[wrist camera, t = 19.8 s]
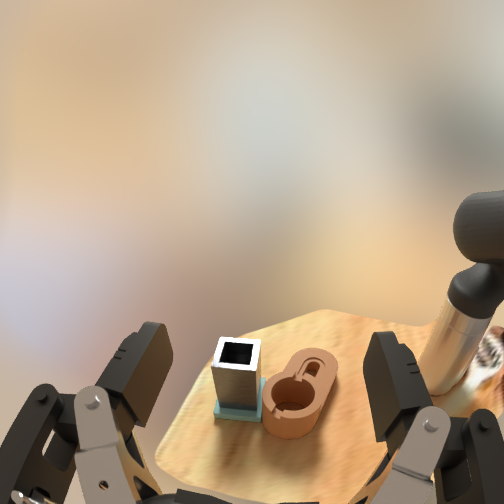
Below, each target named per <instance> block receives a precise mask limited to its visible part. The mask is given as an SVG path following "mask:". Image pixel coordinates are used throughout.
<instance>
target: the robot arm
mask: <svg viewBox="0 0 504 504" xmlns="http://www.w3.org/2000/svg"><path fill="white" fill-rule="evenodd" d="M453 233H454V239H455V242H456V245H457V246H458V248H459V250H460V251H461V253H462V254H463V255H464V256H465V257H466V258H467V259H469V260H470V261H473V262H476V264H475V265H474V266H472V267H471V268H469V269H466V270H464V271H461V272H459V273H457V274H456V275H455V276H454V277H453V279H452V281H451V283H450V286H449V289H448V292H447V295H446V298H445V301H444V303H443V306H442V309H441V311H440V314H439V317H438V319H437V321H436V324H435V326H434V328H433V331H432V333H431V335H430V337H429V340H428V342H427V344H426V346H425V348H424V350H423V352H422V354H421V356H420V359H419V361H418V362H417V361H416V359H415V357H414V354H413V352H412V351H411V350H410V349H409V348H408V347H407V346H406V345H405V344H399V343H398V341H397V338H396V336H395V334H394V332H393V331H387V332H374V333H373V335H372V337H371V341H370V344H369V347H368V350H367V352H366V355H365V358H364V362H363V374H364V379H365V383H366V388H367V393H368V398H369V403H370V408H371V413H372V418H373V424H374V430H375V436H376V442H383V441H386V443H387V448H388V449H387V451H386V452H385V454H384V456H383V457H382V459H381V461H380V462H379V464H378V465H377V467H376V468H375V470H374V471H373V473H372V474H371V476H370V477H369V479H368V480H367V482H366V483H365V484H364V486H363V487H362V488H361V489H360V491H359V492H358V493H357V494H356V495H355V496H354V497H353V498H352V499H351V500H350V502H349V503H348V504H424V503H425V501H426V499H427V497H428V495H429V493H430V491H431V489H432V486H433V481H432V480H431V479H430V478H431V475H432V473H433V471H434V478H435V487H436V497H437V504H504V441H503V437H502V434H501V431H500V428H499V425H498V422H497V419H496V417H495V415H494V414H493V413H492V412H491V411H489V410H487V409H478V410H476V411H475V412H474V413H473V414H472V415H471V416H470V417H469V418H458V417H449V416H448V414H447V413H446V412H445V411H444V410H443V409H441V408H439V407H436V406H434V405H433V403H432V400H431V398H430V395H435V396H437V395H443V394H445V393H447V392H448V391H450V389H451V388H452V386H454V385H457V383H458V382H459V380H460V379H461V377H462V376H463V374H464V373H465V371H466V370H467V368H468V366H469V365H470V363H471V362H472V360H473V358H474V357H475V355H476V353H477V351H478V349H479V347H478V345H479V343H480V341H481V339H482V337H483V335H484V333H485V331H486V329H487V327H488V325H489V323H490V321H491V319H492V317H493V315H494V313H495V310H496V308H497V307H498V306H499V304H500V303H501V302H502V301H503V300H504V190H503V191H494V192H484V193H474V194H472V195H470V196H468V197H467V198H466V199H465V200H464V201H463V202H462V203H461V205H460V206H459V208H458V210H457V212H456V215H455V218H454V224H453ZM172 362H173V350H172V347H171V343H170V340H169V336H168V333H167V329H166V326H165V325H164V324H161V323H153V322H145V323H144V324H143V325H142V327H141V329H140V330H139V332H138V333H136V332H133V333H132V334H131V335H129V336H128V337H127V338H125V339H124V340H123V342H122V343H121V345H120V347H119V348H118V351H116V353H115V354H114V357H113V358H112V359H111V360H110V362H109V364H108V365H107V367H106V368H105V370H104V371H103V373H102V375H101V376H100V378H99V379H98V381H97V383H96V384H95V385H94V386H88V387H85V388H83V389H82V390H80V391H79V392H78V393H77V394H60V393H58V392H57V390H56V389H55V387H54V386H52V385H51V384H41V385H39V386H37V387H36V388H35V389H34V390H33V391H32V392H31V394H30V395H29V397H28V399H27V400H26V402H25V404H24V405H23V407H22V409H21V410H20V412H19V414H18V415H17V417H16V419H15V421H14V422H13V424H12V426H11V428H10V430H9V431H8V433H7V435H6V437H5V439H4V441H3V443H2V445H1V447H0V504H63V503H64V500H65V497H66V495H67V492H68V489H69V486H70V484H71V481H72V478H73V476H74V473H75V471H76V468H77V472H78V476H79V481H80V485H81V488H82V492H83V495H84V499H85V502H86V504H232V503H229V502H226V501H223V500H221V499H218V498H216V497H213V496H210V495H205V494H199V493H195V492H190V491H186V490H182V489H177V493H176V494H162V491H161V489H160V487H159V486H158V484H157V482H156V480H155V479H154V478H153V476H152V475H151V473H150V471H149V469H148V467H147V465H146V462H145V459H144V457H143V454H142V452H141V449H140V446H139V444H138V441H137V438H136V435H135V433H134V431H133V428H134V425H137V426H141V427H145V426H146V423H147V421H148V418H149V416H150V414H151V411H152V409H153V406H154V404H155V402H156V400H157V397H158V395H159V392H160V390H161V388H162V386H163V383H164V381H165V379H166V376H167V374H168V372H169V370H170V367H171V365H172ZM429 394H430V395H429ZM52 430H53V431H54V432H55V433H54V435H53V437H52V439H51V441H50V443H49V446H48V448H47V450H46V452H45V454H44V456H43V455H42V450H43V447H44V445H45V443H46V440H47V438H48V437H49V435H50V433H51V431H52ZM467 460H468V461H467ZM468 465H469V466H468ZM469 470H470V471H469ZM470 475H471V477H470ZM279 504H319V502H300V503H279Z"/></svg>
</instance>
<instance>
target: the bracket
mask: <svg viewBox="0 0 504 504" xmlns="http://www.w3.org/2000/svg"><path fill="white" fill-rule="evenodd" d="M308 370H315V371H317V372H318V373H317V375H316V377H313V376H312V375H310V374H308V373H306V372H307V371H308ZM337 371H338V363H337V360H336V358H335V357H334V356H333V355H332V354H331V353H329V352H327V351H325V350H323V349H318V348H307V349H303V350H300V351H298V352H297V353H295V354H294V355H293V356H292V358H291V359H290V361H289V362H288V364H287V366H286V367H285V369H284V371H283V372H280V373H278V374H276V375H274V376H272V377H271V378H270V379H268V381H267V382H266V383H265V385H264V387H263V390H262V422H263V425H264V427H265V428H266V430H267V431H268V432H269V433H271V434H272V435H274V436H276V437H279V438H282V439H296V438H300V437H302V436H304V435H306V434H307V433H309V432H310V431H311V430H312V429H313V427H314V425H315V423H316V421H317V419H318V417H319V415H320V413H321V411H322V408H323V406H324V404H325V402H326V399H327V397H328V395H329V392H330V390H331V388H332V385H333V383H334V380H335V377H336V374H337ZM283 402H295V403H298V404H301V405H302V406H303V407H304V409H302V410H297V411H289V410H285V409H284V411H283V412H282V411H280V410H278V409H277V408H276V405H278V404H280V403H283Z"/></svg>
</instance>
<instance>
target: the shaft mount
mask: <svg viewBox="0 0 504 504" xmlns="http://www.w3.org/2000/svg"><path fill="white" fill-rule="evenodd" d="M264 385H265V378H261V385H260V393H259V400H258V407H257V411H248V410H238V409H229V408H221V407H219V402H218V398H217V401H216V405H215V409H214V417H215V418H222V419H230V420H239V421H250V422H261V417H262V390H263V387H264Z"/></svg>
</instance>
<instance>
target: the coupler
mask: <svg viewBox="0 0 504 504" xmlns="http://www.w3.org/2000/svg"><path fill="white" fill-rule="evenodd" d="M211 369H212V374H213V379H214V384H215V388H216V393H217V398H218V402H219V407H221V408H229V409H238V410H248V411H257V407H258V400H259V393H260V385H261V340H253V339H239V338H226V337H220V339H219V343H218V346H217V349H216V352H215V355H214V358H213V361H212V365H211Z"/></svg>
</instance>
